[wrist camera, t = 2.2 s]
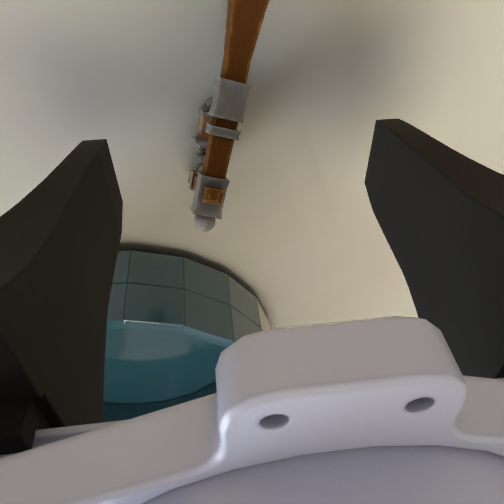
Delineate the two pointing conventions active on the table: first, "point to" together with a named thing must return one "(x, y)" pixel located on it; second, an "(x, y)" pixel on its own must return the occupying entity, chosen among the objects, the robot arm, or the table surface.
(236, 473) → the robot arm
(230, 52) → the wooden post with brackets
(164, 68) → the table surface
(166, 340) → the bowl
